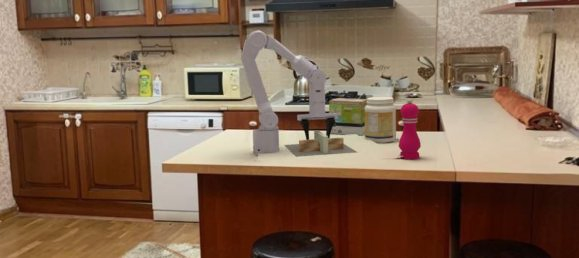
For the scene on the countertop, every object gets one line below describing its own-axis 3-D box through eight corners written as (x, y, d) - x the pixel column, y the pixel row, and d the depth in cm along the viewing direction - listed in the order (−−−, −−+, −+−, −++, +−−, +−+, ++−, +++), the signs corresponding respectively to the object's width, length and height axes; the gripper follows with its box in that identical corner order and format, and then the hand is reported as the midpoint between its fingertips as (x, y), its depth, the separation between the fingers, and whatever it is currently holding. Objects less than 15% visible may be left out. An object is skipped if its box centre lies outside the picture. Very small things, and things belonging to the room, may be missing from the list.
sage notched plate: (328, 153, 198) (327, 136, 197) (323, 153, 198) (323, 136, 197) (318, 146, 212) (318, 130, 211) (314, 146, 211) (314, 130, 210)
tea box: (328, 134, 244) (328, 100, 242) (338, 130, 253) (337, 97, 251) (361, 136, 237) (361, 100, 235) (370, 132, 246) (369, 98, 244)
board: (296, 159, 195) (296, 156, 194) (283, 147, 217) (283, 144, 217) (357, 155, 199) (357, 152, 198) (339, 143, 221) (339, 141, 221)
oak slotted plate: (300, 152, 202) (299, 140, 201) (299, 151, 203) (298, 140, 203) (343, 149, 205) (343, 138, 204) (342, 148, 206) (342, 137, 206)
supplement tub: (373, 137, 233) (373, 95, 231) (401, 139, 227) (401, 96, 224) (359, 142, 223) (359, 99, 221) (388, 144, 217) (387, 100, 214)
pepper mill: (405, 154, 197) (405, 97, 194) (424, 156, 192) (424, 97, 189) (394, 158, 191) (394, 99, 188) (414, 160, 187) (414, 100, 183)
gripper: (333, 100, 212) (334, 136, 214) (295, 101, 209) (296, 138, 211) (338, 102, 205) (339, 139, 207) (299, 103, 202) (300, 141, 204)
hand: (317, 139), depth 208 cm, fingers open, 7 cm apart
